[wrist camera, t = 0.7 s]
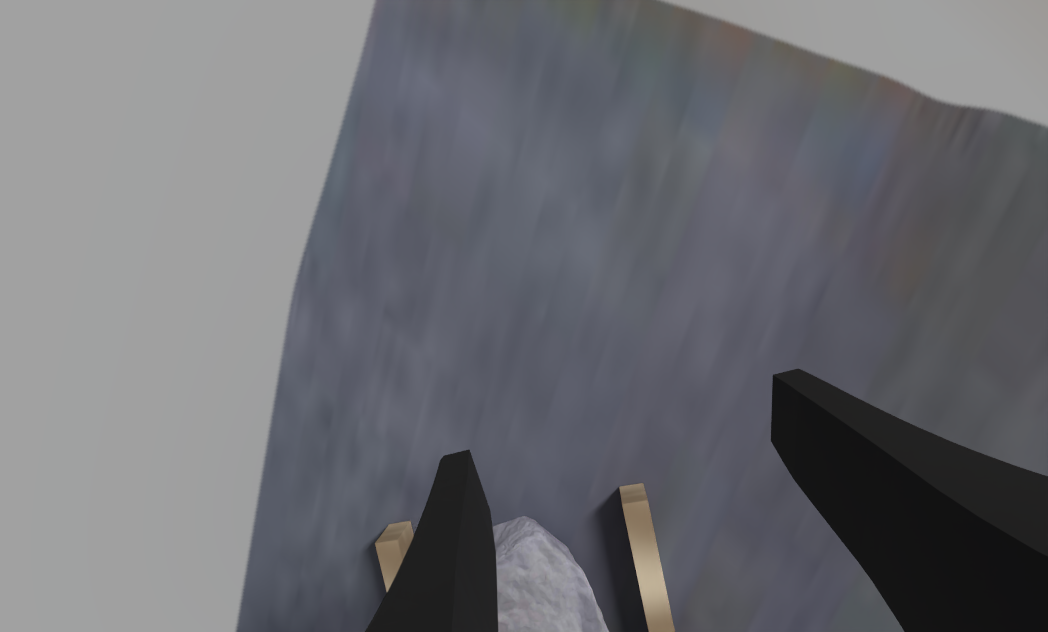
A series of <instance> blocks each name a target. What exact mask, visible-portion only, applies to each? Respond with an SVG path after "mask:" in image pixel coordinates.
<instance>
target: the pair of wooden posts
mask: <svg viewBox="0 0 1048 632" xmlns="http://www.w3.org/2000/svg"><path fill="white" fill-rule="evenodd" d="M619 488H620V494H621V501H622V506H623V511H624V516H625V521H626V525H627V530H628V535H629V540H630V544H631V549H632V554H633V559H634V563H635V568H636V573H637V578H638V583H639V587H640V592H641V597H642V602H643V606H644V611H645V616H646V621H647V625H648V630H649V632H675V630H674V626H673V621H672V616H671V611H670V606H669V601H668V596H667V592H666V587H665V582H664V577H663V572H662V567H661V563H660V558H659V553H658V548H657V543H656V538H655V533H654V529H653V524H652V519H651V514H650V509H649V504H648V500H647V496H646V492H645V488H644V485H643V483H640V484H634V485H627V486H621V487H619ZM413 537H414V534H413V530H412V526H411V522H410V521H406V522H400V523H394V524H389V525H388V527H387V528H386V529H385V531H384V532H383V533H382V535H381V536H380V537H379V539H378V540H377V541H376V543H375V546H376V550H377V554H378V558H379V562H380V566H381V570H382V574H383V578H384V583H385V587H386V591H387V592H388V590H389V588H390V586H391V584H392V582H393V580H394V578H395V576H396V574H397V572H398V570H399V567H400V565H401V563H402V561H403V559H404V557H405V554H406V552H407V550H408V548H409V546H410V544H411V541H412V539H413Z"/></svg>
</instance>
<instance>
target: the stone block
mask: <svg viewBox="0 0 1048 632" xmlns="http://www.w3.org/2000/svg"><path fill="white" fill-rule="evenodd" d="M493 534H494V542H495V549H496V567H497V600H498V632H609V631H608V629H607V626H606V624H605V622H604V620H603V615H602V612H601V610H600V608H599V607H598V605H597V603H596V599H595V597H594V594H593V590H592V588H591V586H590V585H589V582H588V580H587V578H586V576H585V573H584V572H583V570H582V569H581V567H580V566H579V565H578V564H577V563H576V562H575V560H574V557H573V556H572V554H571V553H570V552H569V549H568V547H567V546H566V545H565V544H563V543H562V542H560V541H559V540H558V539H556V538H555V537H554V536H553V535H552V534H550V533H549V532H548V531H547V530H545V528H543V527H541V526H540V525H539V524H538V523H537V521H535V520H533V519H530V518H528V517H526V516H522V517H519V518H516V519H514V520H511V521H508V522H505V523H501V524H498V525H496V526H493Z"/></svg>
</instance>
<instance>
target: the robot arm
mask: <svg viewBox="0 0 1048 632" xmlns="http://www.w3.org/2000/svg"><path fill="white" fill-rule="evenodd" d="M771 442H772V443H773V445H774V447H775V449H776V450H777V452H778V454H779V456H780V457H781V459H782V461H783V462H784V464H785V466H786V467H787V469H788V471H789V472H790V474H791V475H792V477H793V479H794V480H795V481H796V483H797V484H798V485H799V487H800V488H801V489H802V491H803V492H804V493H805V494H806V496H807V497H808V498H809V500H810V501H811V502H812V504H813V505H814V506H815V507H816V509H817V510H818V511H819V513H820V514H821V515H822V516H823V518H824V519H825V520H826V521H827V523H828V524H829V525H830V527H831V528H832V529H833V530H834V532H835V533H836V534H837V535H838V537H839V538H840V539H841V541H842V542H843V543H844V544H845V546H846V547H847V548H848V549H849V551H850V552H851V553H852V555H853V556H854V557H855V558H856V560H857V561H858V562H859V564H860V565H861V566H862V568H863V569H864V570H865V572H866V573H867V575H868V576H869V577H870V579H871V580H872V581H873V583H874V584H875V586H876V588H877V589H878V591H879V592H880V594H881V595H882V597H883V598H884V600H885V602H886V603H887V605H888V606H889V608H890V609H891V611H892V612H893V614H894V616H895V617H896V619H897V620H898V622H899V623H900V625H901V626H902V628H903V630H904V631H905V632H1048V476H1045V475H1041V474H1038V473H1035V472H1032V471H1029V470H1026V469H1023V468H1020V467H1017V466H1014V465H1011V464H1009V463H1006V462H1003V461H1000V460H998V459H995V458H992V457H990V456H987V455H984V454H981V453H979V452H976V451H973V450H971V449H968V448H966V447H963V446H961V445H958V444H956V443H953V442H951V441H948V440H946V439H944V438H942V437H939V436H937V435H935V434H932V433H930V432H928V431H925V430H923V429H921V428H918V427H916V426H914V425H912V424H910V423H908V422H905V421H903V420H901V419H899V418H897V417H895V416H893V415H891V414H888V413H886V412H884V411H882V410H880V409H878V408H876V407H874V406H872V405H870V404H868V403H866V402H864V401H862V400H860V399H858V398H856V397H854V396H852V395H850V394H848V393H846V392H844V391H842V390H840V389H838V388H837V387H835V386H833V385H831V384H829V383H827V382H825V381H823V380H821V379H819V378H817V377H815V376H813V375H811V374H809V373H807V372H805V371H803V370H800V369H795V370H791V371H787V372H783V373H779V374H775V375H773V389H772V422H771ZM365 632H498V600H497V567H496V549H495V542H494V534H493V527H492V520H491V513H490V509H489V506H488V503H487V500H486V497H485V494H484V491H483V488H482V485H481V482H480V479H479V476H478V473H477V470H476V468H475V465H474V462H473V459H472V456H471V453H470V450H466V451H462V452H457V453H453V454H449V455H445V456H443V457H442V459H441V460H440V463H439V467H438V470H437V474H436V477H435V480H434V483H433V486H432V489H431V492H430V495H429V498H428V501H427V503H426V506H425V509H424V511H423V514H422V516H421V519H420V521H419V524H418V527H417V529H416V532H415V534H414V537H413V539H412V541H411V544H410V546H409V548H408V550H407V552H406V554H405V557H404V559H403V561H402V563H401V565H400V567H399V570H398V572H397V574H396V576H395V578H394V580H393V582H392V584H391V586H390V588H389V590H388V592H387V594H386V596H385V597H384V599H383V601H382V603H381V605H380V607H379V608H378V610H377V612H376V614H375V616H374V617H373V619H372V621H371V623H370V624H369V626H368V627H367V629H366V631H365Z"/></svg>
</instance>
